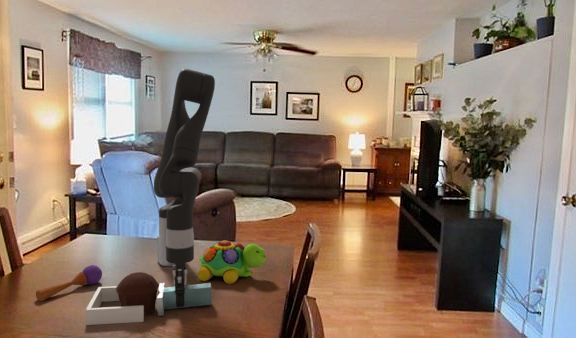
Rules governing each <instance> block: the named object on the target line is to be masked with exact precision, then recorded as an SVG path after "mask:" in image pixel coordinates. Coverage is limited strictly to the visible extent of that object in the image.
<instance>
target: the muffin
mask: <svg viewBox="0 0 576 338" xmlns="http://www.w3.org/2000/svg"><path fill="white" fill-rule="evenodd" d="M159 284H160V283H158V281H157V280H156V278H155V277H154V276H152V274H148V273H146V272H141V271H140V272H139V271H138V272H133V273H130V274H127V275H126V276H124V277H123V278H122V279H121V281H120V282H119V283H118V285H116V286H117V287H116V291H117V293H118V296H119V301H118V302H119V307H122V306H141V305H144V316H147V315H150V314H151V313H152V312H154V311H155V309H156V303H157V295H158V290H159Z"/></svg>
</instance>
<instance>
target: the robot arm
mask: <svg viewBox="0 0 576 338" xmlns="http://www.w3.org/2000/svg"><path fill="white" fill-rule="evenodd" d="M215 80H216V79H215V77H214V76H213V75H212V74H208V73H205V72H201V71H199V70H198V71H196V70H193V69H189V68H182V69H181V70H180V72H179V73H178V76H177V78H176V84H175V88H174V95H173V102H172V109H171V114H170V118H169V121H168V126H167V129H166V131H165V132H166V133H165V138H164V143H163V146H162V147H163V148H162V153H161V157H160V162H159V164H158V167H157V170H156V173H155V177H154V180H153V192H154V195H156V197H158V198H162V199H163V198H164V199H166V198H168V199H169V198H173V200H171V201H170V202H168V204H166V205H163V206H161V207H160V208H158V209H159V210H158V226H159V227H158V236H157V237H156V240H157V242H156V245H157V247H156V249H157V251H156V253H157V255H156V256H157V259H156V260H157V263H158V264H159V265H160V266H163V267H172V276H173V287H175V294H176V306H177V307H183V306H184V294H185V285H187V279H188V278H187V274H188V264H186V263H190V262H192V261H193V260H194V259H195V257H194V255H195V253H194V252H195V235H194V227H193V226H194V222H193V221H194V219H193V216H194V207H195V202H196V198H197V196H198V192H199V188H200V179H199V177H198V175H197V174H196V173H195V172H194V171H183V170H185V169H187V168H192V167H194V166H195V165H196V163H197V160H198V154H199V151H200V143H201V139H202V134H203V131H204V127H205V126H206V125H205V124H206V122H207V119H208V115H209V112H210V108H211V105H212V100H213V97H214V93H215V92H214V91H215V86H216V81H215ZM186 102H191V103H195V104H199V107H198V109H197V110H196V112H195V113H194V114H193V115H192V116H191V117H190V116H189V114H188V111H187V108H186ZM177 288H183V289H177ZM183 308H184V307H183Z"/></svg>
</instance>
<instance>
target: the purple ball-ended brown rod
mask: <svg viewBox="0 0 576 338" xmlns="http://www.w3.org/2000/svg"><path fill="white" fill-rule="evenodd" d="M102 277H103V270H102V269H101V268H100V267H99V266H98V265H95V264H93V265H92V264H91V265H88V266H86V267H84V269H83V270H82V272H81V271H80V272H78V274H77V275H76V276H75V277H74V278H73V279H72V280H70V281H67V282H64V283H60V284H57V285H54V286H53V285H52V286H49V287H46V288H43V289H40V290H39V289H38V290H36V292H35V297H36V299H37V301H39V302H41V301H42V302H44V301H46V300H47V299H49V298H51V297H53V296H55V295H57V294H58V293H61V292H62V291H64V290H66V289H67V288H69V287H71V286H86V285H88V286H91V285H92V286H93V285H96V284H98V283H99V282H100V281H101V280H102Z"/></svg>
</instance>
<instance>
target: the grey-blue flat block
mask: <svg viewBox="0 0 576 338" xmlns="http://www.w3.org/2000/svg"><path fill="white" fill-rule="evenodd" d="M158 284H159V288H158V290H157V297H156V303H157V316H158V317H161V316H163V317H164V315H165V310H172V309H173V310H175V309H181V308H182V309H183V308H191V307H199V306H209V305H211V306H212V304H213V303H212V301H213V300H212V299H213V298H212V297H213V296H212V285H211V282H206V283H196V284H186V285H185V294H184V306H183V307H177V306H176V294H175V286H167V287H166V285H165V282H159V283H158ZM177 289H183V288H177Z"/></svg>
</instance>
